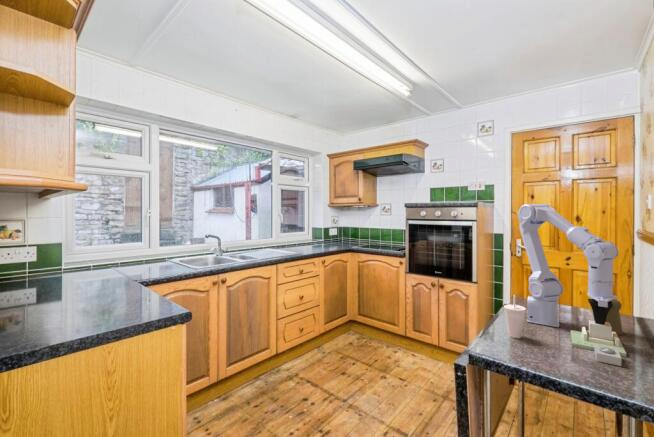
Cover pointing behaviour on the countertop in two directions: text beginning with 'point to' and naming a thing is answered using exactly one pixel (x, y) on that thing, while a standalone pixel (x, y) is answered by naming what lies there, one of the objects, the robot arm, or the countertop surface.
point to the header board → (595, 341)
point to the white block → (600, 330)
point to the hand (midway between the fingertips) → (599, 323)
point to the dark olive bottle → (615, 317)
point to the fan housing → (607, 355)
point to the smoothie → (514, 319)
